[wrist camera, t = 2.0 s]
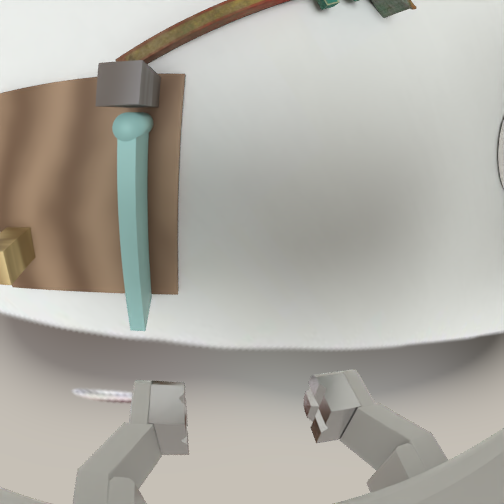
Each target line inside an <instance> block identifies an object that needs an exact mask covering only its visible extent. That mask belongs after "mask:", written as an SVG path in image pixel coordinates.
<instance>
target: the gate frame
mask: <svg viewBox="0 0 504 504" xmlns="http://www.w3.org/2000/svg"><path fill="white" fill-rule="evenodd" d="M184 84H185V74H157V73H156V72H155V71H154V70H153V69H152V68H151V67H149V66H148V65H147V64H146V63H145V62H144V61H143V60H135V61H119V62H106V63H99V67H98V77H92V78H83V79H75V80H68V81H61V82H54V83H48V84H42V85H37V86H32V87H27V88H22V89H17V90H13V91H8V92H4V93H0V284H3V285H12V286H13V287H17V288H31V289H46V290H63V291H82V292H105V293H125V286H124V278H123V268H122V258H121V246H120V233H119V216H118V190H117V138H116V137H115V135H114V134H113V130H112V126H113V122H114V120H115V119H116V117H117V116H119V115H120V114H122V113H126V112H144V113H147V114H149V115H150V116H151V117H152V119H153V128H152V130H151V131H150V132H149V138H148V178H147V202H148V242H149V263H150V279H151V293H152V294H178V181H179V156H180V137H181V121H182V107H183V95H184Z"/></svg>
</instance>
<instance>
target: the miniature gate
mask: <svg viewBox="0 0 504 504" xmlns="http://www.w3.org/2000/svg"><path fill="white" fill-rule="evenodd" d="M286 1H290V0H227V1H224V2H222V3H220V4H217V5H215V6H213V7H210V8H208V9H206V10H204V11H201V12H199V13H197V14H195V15H193V16H191V17H189V18H187V19H185V20H183V21H181V22H179V23H177V24H175V25H173V26H171V27H169V28H167V29H165V30H164V31H162V32H160V33H158V34H156V35H155V36H153V37H151V38H149V39H148V40H146V41H144V42H143V43H141V44H139V45H138V46H136V47H134V48H133V49H131V50H130V51H128V52H126V53H125V54H123V55H122V56H120V57H119V58H117V59H116V62H119V61H135V60H143V61H144V62H145V63H146V64H148V63H150V62H151V61H153V60H155V59H157V58H158V57H160V56H162V55H164V54H166V53H167V52H169V51H171V50H173V49H175V48H177V47H179V46H181V45H183V44H185V43H187V42H189V41H191V40H193V39H195V38H197V37H199V36H201V35H204V34H206V33H208V32H210V31H212V30H214V29H216V28H219V27H221V26H223V25H225V24H228V23H230V22H232V21H235V20H237V19H240V18H242V17H245V16H247V15H250V14H252V13H255V12H258V11H260V10H263V9H266V8H269V7H271V6H274V5H277V4H280V3H283V2H286ZM316 1H317V2H318V4H319V6H320V8H321V9H322V10H323V9H326V8H330V7H334V6H335V5H336V4H338V3H339V0H316ZM354 1H358V0H354ZM371 1H372V3H373V4H374V6H375V7H376V9H377V11H378V12H379V13H380V14H381V15H382V17H383V18H385V17H388V16H390V15H393V14H396V13H398V12H401V11H404V10H407V9H416V6H415V5H414V4H413V3H412V1H411V0H371Z"/></svg>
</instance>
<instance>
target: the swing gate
mask: <svg viewBox="0 0 504 504" xmlns="http://www.w3.org/2000/svg"><path fill="white" fill-rule="evenodd" d="M152 128H153V119H152V117H151V116H150V115H149V114H147V113H144V112H126V113H122V114H120V115H119V116H117V117H116V119H115V120H114V122H113V126H112V130H113V134H114V135H115V137H116V138H117V190H118V216H119V233H120V246H121V258H122V268H123V278H124V286H125V295H126V302H127V309H128V316H129V323H130V329H131V330H135V331H145V330H146V324H147V319H148V313H149V308H150V303H151V298H152V293H151V279H150V263H149V242H148V202H147V178H148V138H149V132H150V131H151V130H152Z"/></svg>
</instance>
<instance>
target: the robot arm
mask: <svg viewBox="0 0 504 504" xmlns="http://www.w3.org/2000/svg"><path fill="white" fill-rule="evenodd" d="M498 162H499V172H500V178H501V182H502V185H503V188H504V120H503V124H502V128H501V132H500V138H499V150H498ZM309 385H310V388H309V389H308V390H307V391H306V392H305V396H304V409H305V413H306V416H307V418H309V419H310V420H311V421H313V423H312V426H311V430H312V433H313V435H314V438H315V441H316V443H320V442H326V441H332V440H338V439H340V441H341V442H343V443H344V444H345V445H346V446H347V447H348V448H350V449H351V450H352V451H353V452H354V453H356V454H357V455H358V456H359V457H361V458H362V459H363V460H364V461H366V462H367V463H368V464H369V465H371V466H372V467H373V468H374V469H375V470H377V471H376V472H375V473H374V474H373V475H372V477H371V478H370V479H369V480H368V482H367V485H368V487H369V490H370V492H371V493H368V494H366V495H362V496H359V497H356V498H353V499H349V500H345V501H342V502H338V503H334V504H504V428H503V429H502V430H500V431H498V432H497V433H495V434H494V435H492V436H491V437H489V438H487V439H486V440H484V441H482V442H481V443H479V444H477V445H476V446H474V447H472V448H470V449H469V450H467V451H465V452H463V453H461V454H460V455H458V456H456V457H454V458H452V459H450V460H448V459H447V457H446V456H445V454H444V452H443V451H442V449H441V447H440V446H439V444H438V443H437V441H436V439H435V438H434V436H433V434H432V433H431V432H429V431H427V430H425V429H424V428H422V427H420V426H418V425H416V424H415V423H413V422H411V421H409V420H408V419H406V418H404V417H403V416H401V415H399V414H397V413H396V412H394V411H392V410H391V409H389V408H387V407H386V406H384V405H382V404H381V403H375V401H374V400H373V398H372V396H371V394H370V393H369V391H368V389H367V388H366V386H365V384H364V382H363V381H362V379H361V377H360V375H359V374H358V372H357V371H356V370H355V369H353V370H346V371H339V372H331V373H324V374H318V375H312V376H311V377H310V380H309ZM187 426H188V425H187V406H186V398H185V383H184V382H164V381H163V382H162V381H144V380H136V381H135V383H134V387H133V394H132V402H131V410H130V419H129V423H125V422H124V423H123V424H122V425H121V427H119V428H118V429H117V431H115V432H114V433H113V435H111V437H110V438H109V439H108V440H107V441H106V442H105V443H104V444H103V445H102V446H101V447H100V448H99V449H98V450H97V451H96V452H95V453H94V454H93V455H92V456H91V457H90V458H89V459H88V460H87V461H86V462H85V463H84V464H83V465H82V466H81V467H80V468H79V469H78V471H77V477H76V484H75V491H74V498H73V504H147V503H146V501H145V500H144V498H143V496H142V495H141V493H140V491H139V490H138V489H139V488H140V487H141V485H142V484H143V482H144V481H145V479H146V478H147V476H148V475H149V474H150V472H151V471H152V470H153V468H154V467H155V465H156V464H157V462H158V461H159V459H160V458H161V456H162V455H189V450H188V433H187ZM0 504H51V503H47V502H43V501H40V500H37V499H33V498H30V497H27V496H24V495H21V494H18V493H15V492H13V491H10V490H7V489H5V488H2V487H0Z"/></svg>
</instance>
